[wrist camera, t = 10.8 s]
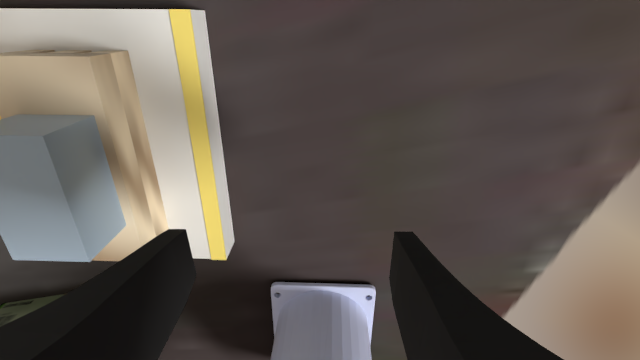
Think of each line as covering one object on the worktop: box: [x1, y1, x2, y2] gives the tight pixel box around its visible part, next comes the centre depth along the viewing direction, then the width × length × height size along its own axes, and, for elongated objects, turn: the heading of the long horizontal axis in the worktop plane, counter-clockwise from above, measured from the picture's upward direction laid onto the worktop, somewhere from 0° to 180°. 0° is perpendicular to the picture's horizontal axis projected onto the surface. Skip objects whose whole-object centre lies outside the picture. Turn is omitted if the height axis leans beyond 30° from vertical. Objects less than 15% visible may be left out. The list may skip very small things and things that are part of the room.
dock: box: [0, 8, 234, 260], centre depth 20 cm, size 15×12×2 cm
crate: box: [0, 114, 126, 262], centre depth 15 cm, size 6×4×3 cm, turn 0°
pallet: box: [0, 50, 169, 261], centre depth 18 cm, size 11×5×3 cm, turn 0°
